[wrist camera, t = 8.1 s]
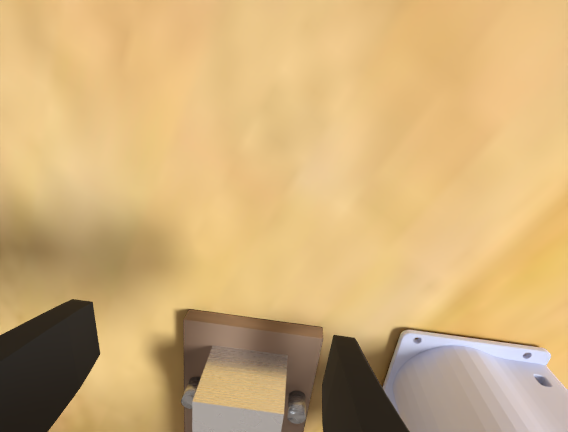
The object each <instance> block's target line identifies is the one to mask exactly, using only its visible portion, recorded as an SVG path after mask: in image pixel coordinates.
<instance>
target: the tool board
mask: <svg viewBox="0 0 568 432" xmlns="http://www.w3.org/2000/svg"><path fill="white" fill-rule="evenodd" d="M322 342H323V329H322V327H315V326H308V325H301V324H293V323H286V322H279V321H271V320H264V319H257V318H249V317H242V316H235V315H227V314H220V313H213V312H205V311H198V310H191V309H189V310H188V312H187V314H186V316H185V318H184V395H183V397H182V400H181V403H182V405H183V406H184V424H185V432H192V401H193V398H194V396H195V393H196V390H197V387H198V384H199V382H200V379H201V376H202V373H203V371H204V368H205V365H206V362H207V360H208V357H209V354H210V351H211V349H212V346H213V345H215V346H222V347H229V348H237V349H244V350H252V351H259V352H267V353H274V354H281V355H288V359H287V375H286V390H285V406H284V417H283V423H282V429H281V432H303V431H304V426H305V422H306V417H307V412H308V408H309V403H310V398H311V394H312V389H313V384H314V380H315V375H316V370H317V366H318V361H319V356H320V352H321V347H322Z"/></svg>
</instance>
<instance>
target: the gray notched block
mask: <svg viewBox="0 0 568 432" xmlns="http://www.w3.org/2000/svg"><path fill="white" fill-rule="evenodd" d="M287 359H288V355H281V354H274V353H267V352H259V351H252V350H244V349H237V348H229V347H222V346H215V345H213V346H212V349H211V351H210V354H209V357H208V360H207V362H206V365H205V368H204V371H203V373H202V376H201V379H200V382H199V384H198V387H197V390H196V393H195V396H194V398H193V401H192V432H281V429H282V423H283V417H284V406H285V390H286V375H287Z"/></svg>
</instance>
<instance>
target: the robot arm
mask: <svg viewBox="0 0 568 432" xmlns="http://www.w3.org/2000/svg"><path fill="white" fill-rule="evenodd" d="M415 338H418V339H415ZM99 355H100V350H99V343H98V336H97V329H96V322H95V315H94V309H93V302H89V301H82V300H74V299H72V300H70V301H68V302H65V303H63V304H61V305H59V306H57V307H55V308H53V309H51V310H49V311H47V312H45V313H43V314H41V315H39V316H37V317H35V318H33V319H31V320H29V321H27V322H25V323H23V324H22V325H20V326H18V327H16V328H14V329H12V330H10V331H8V332H6V333H4V334H2V335H0V432H48V430H49V429H50V428H51V426H52V425H53V424H54V423H55V421H56V420H57V419H58V417H59V416H60V415H61V413H62V412H63V411H64V409H65V408H66V406H67V405H68V404H69V402H70V401H71V400H72V398H73V397H74V396H75V394H76V393H77V392H78V390H79V389H80V387H81V386H82V384H83V382H84V381H85V379H86V377H87V376H88V374H89V373H90V371H91V369H92V367H93V366H94V364H95V362H96V360H97V359H98V357H99ZM550 358H551V354H550V353H549V352H548V351H547V350H546V349H545V348H540V347H533V346H526V345H518V344H511V343H504V342H496V341H489V340H482V339H474V338H467V337H460V336H452V335H445V334H438V333H430V332H423V331H416V330H405V331H403V332H402V333H401V334H400V337H399V340H398V343H397V346H396V349H395V352H394V355H393V358H392V361H391V364H390V367H389V370H388V373H387V376H386V379H385V382H384V385H383V388H382V386H381V384H380V383H379V381H378V379H377V377H376V376H375V374H374V372H373V370H372V369H371V367H370V365H369V363H368V361H367V359H366V358H365V356H364V354H363V352H362V350H361V348H360V346H359V344H358V342H357V341H356V339H355V338H351V337H344V336H337V335H334V336H333V340H332V344H331V349H330V353H329V357H328V362H327V366H326V370H325V375H324V379H323V384H322V423H323V432H568V390H567V389H566V388H565V387H564V385H563V384H562V383H561V382H560V381H559V380H558V379H557V377H556V376H555V375H554V374H553V373H552V372H551V371H550V370H549V368H548V367H547V366H546V365H547V363H548V361H549V360H550Z"/></svg>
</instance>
